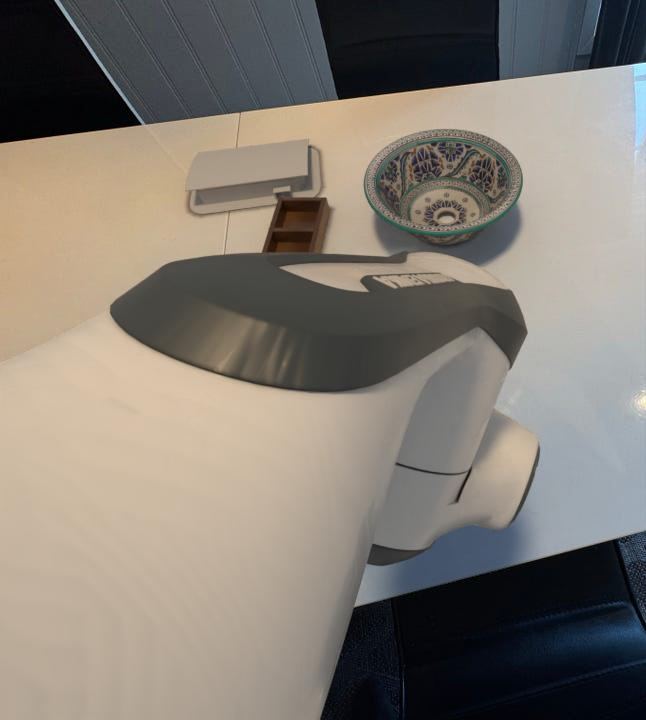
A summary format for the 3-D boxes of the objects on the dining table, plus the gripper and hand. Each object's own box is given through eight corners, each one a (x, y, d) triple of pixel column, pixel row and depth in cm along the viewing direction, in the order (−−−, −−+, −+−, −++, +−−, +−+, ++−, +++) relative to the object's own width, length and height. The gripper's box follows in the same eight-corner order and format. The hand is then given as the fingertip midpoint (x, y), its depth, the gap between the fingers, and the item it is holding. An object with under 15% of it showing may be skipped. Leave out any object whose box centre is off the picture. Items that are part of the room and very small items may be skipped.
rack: (227, 401, 69) (218, 391, 67) (284, 209, 89) (278, 197, 87) (287, 401, 69) (280, 391, 67) (330, 209, 89) (326, 197, 87)
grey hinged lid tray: (321, 198, 91) (315, 179, 87) (188, 216, 88) (176, 198, 85) (318, 145, 99) (312, 127, 95) (195, 161, 96) (185, 142, 93)
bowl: (409, 163, 96) (402, 116, 88) (536, 192, 91) (541, 145, 83) (348, 255, 83) (334, 210, 75) (492, 294, 79) (493, 251, 71)
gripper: (406, 287, 43) (275, 238, 47) (252, 502, 34) (101, 421, 37) (414, 330, 49) (297, 282, 52) (284, 526, 39) (149, 453, 42)
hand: (214, 341), depth 44 cm, fingers open, 8 cm apart
